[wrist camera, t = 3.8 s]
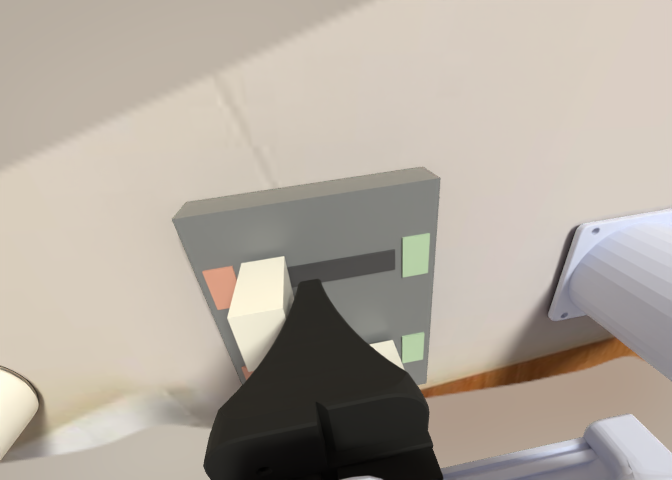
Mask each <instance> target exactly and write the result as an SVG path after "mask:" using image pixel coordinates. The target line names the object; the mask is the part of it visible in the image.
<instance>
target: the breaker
mask: <svg viewBox="0 0 672 480" xmlns="http://www.w3.org/2000/svg"><path fill="white" fill-rule="evenodd" d="M369 345H370V346H371V347H373V348H374V349H375V350H376V351H377V352H379V353H380V354H381V355H383V356H384V357H385V358H387V359H388V360H389V361H391V362H392V363H394V364H395V365H397V366H398V367H400V368H402V369H403V370H405V369H404V367H403V364H402V362H401V359H400V357H399V354H398V352H397V349H396V347H395V344H394V342H393V340H390V341H384V342H379V343H374V344H369Z"/></svg>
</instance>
